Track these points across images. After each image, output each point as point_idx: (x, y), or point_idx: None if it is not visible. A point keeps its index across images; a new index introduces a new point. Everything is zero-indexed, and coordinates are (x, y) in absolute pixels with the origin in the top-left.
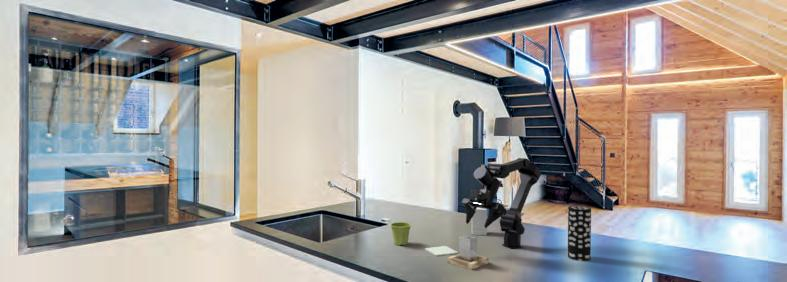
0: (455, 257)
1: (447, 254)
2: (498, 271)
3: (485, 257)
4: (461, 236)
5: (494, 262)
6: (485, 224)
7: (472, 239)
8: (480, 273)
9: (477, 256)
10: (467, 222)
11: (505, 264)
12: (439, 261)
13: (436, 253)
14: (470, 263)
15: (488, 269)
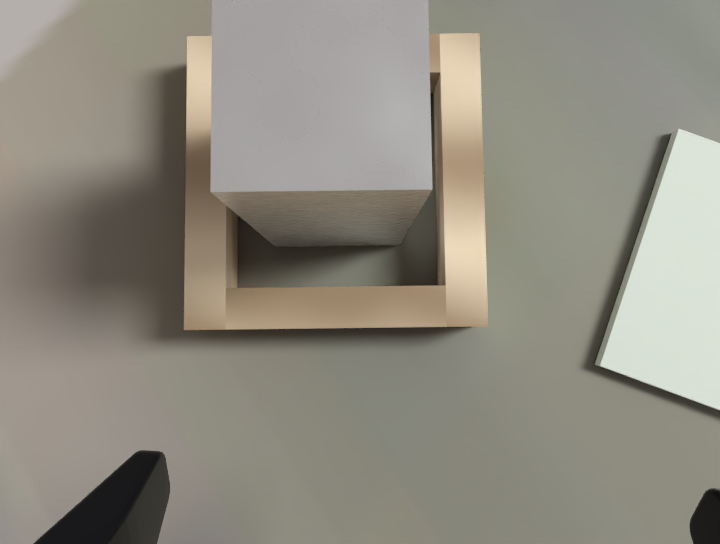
0: (439, 112)
1: (634, 249)
2: (14, 201)
3: (214, 319)
4: (412, 36)
5: (172, 394)
6: (120, 488)
7: (216, 70)
8: (98, 44)
9: (293, 288)
10: (710, 522)
11: (67, 421)
12: (542, 33)
13: (710, 163)
14: (209, 49)
15: (105, 180)
